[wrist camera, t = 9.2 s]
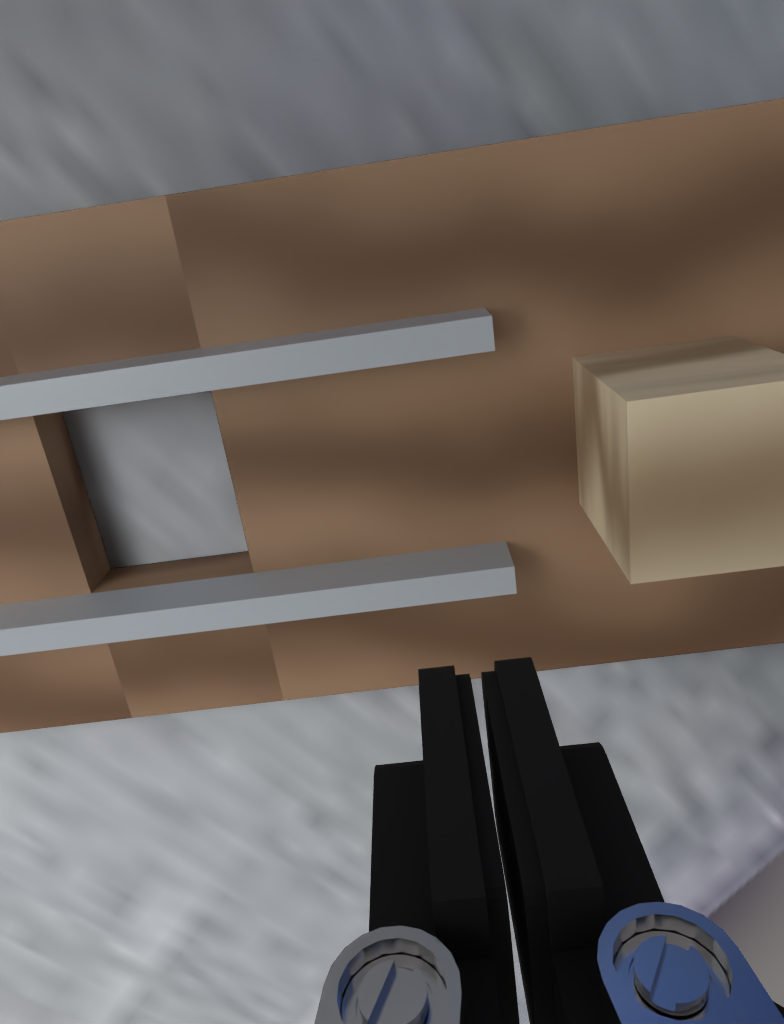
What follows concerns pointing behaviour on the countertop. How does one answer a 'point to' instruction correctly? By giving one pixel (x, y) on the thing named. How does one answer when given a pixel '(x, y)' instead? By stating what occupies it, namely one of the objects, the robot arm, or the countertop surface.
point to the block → (683, 456)
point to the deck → (393, 400)
